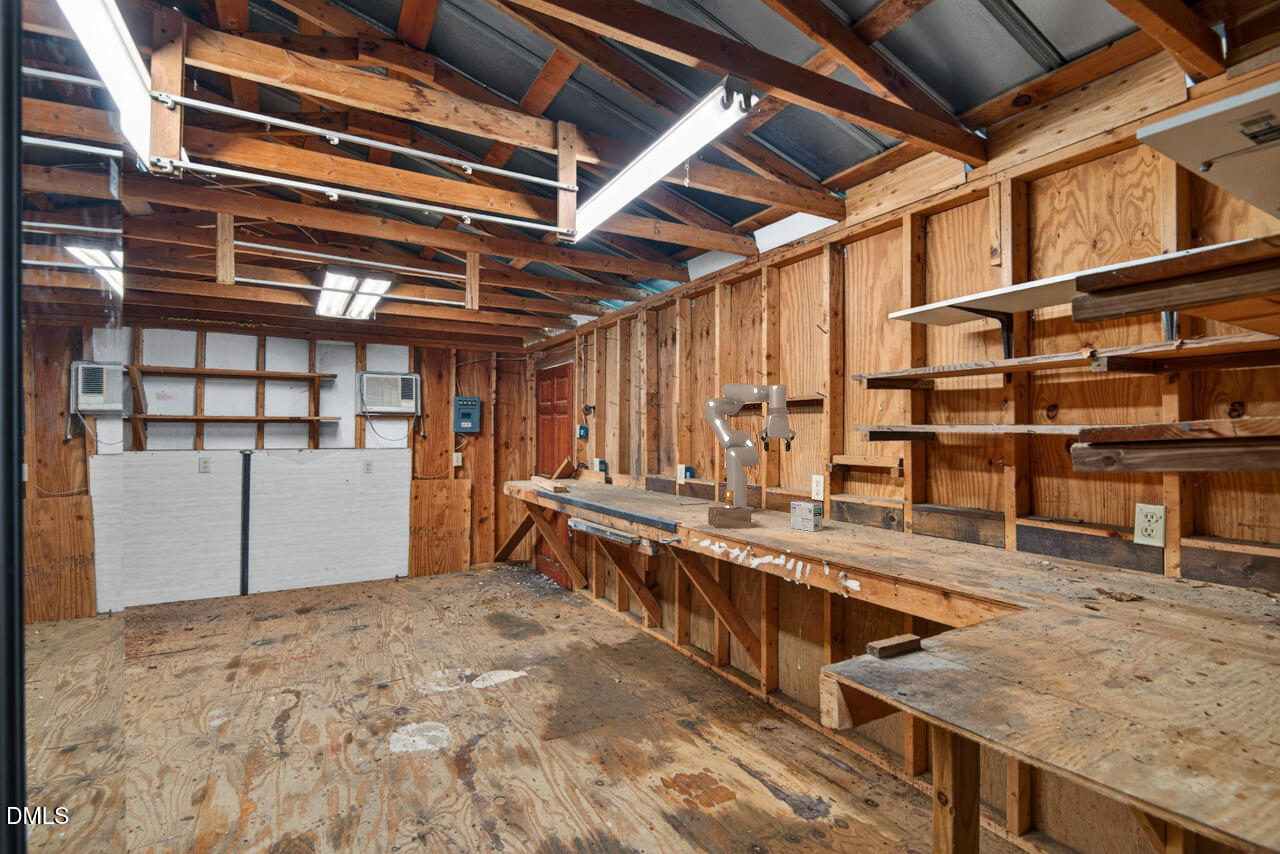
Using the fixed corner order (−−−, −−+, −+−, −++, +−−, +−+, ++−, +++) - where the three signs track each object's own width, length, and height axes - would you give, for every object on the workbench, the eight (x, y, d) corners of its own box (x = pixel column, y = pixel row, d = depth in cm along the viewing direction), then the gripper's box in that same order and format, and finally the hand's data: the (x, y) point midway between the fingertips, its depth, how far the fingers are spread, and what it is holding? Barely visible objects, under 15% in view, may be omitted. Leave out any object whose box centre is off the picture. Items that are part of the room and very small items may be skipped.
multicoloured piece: (720, 522, 246) (720, 489, 246) (733, 522, 247) (734, 489, 247) (724, 524, 241) (724, 491, 241) (738, 524, 241) (738, 491, 242)
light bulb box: (822, 530, 235) (823, 503, 235) (813, 532, 230) (813, 504, 230) (799, 527, 242) (799, 500, 243) (789, 528, 238) (790, 501, 238)
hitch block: (708, 523, 250) (708, 506, 250) (740, 523, 252) (740, 506, 252) (717, 528, 236) (717, 511, 236) (751, 528, 238) (751, 510, 238)
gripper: (792, 413, 267) (792, 451, 267) (755, 412, 265) (755, 451, 265) (799, 412, 260) (799, 451, 260) (761, 412, 257) (761, 451, 257)
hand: (777, 451), depth 262 cm, fingers open, 9 cm apart
